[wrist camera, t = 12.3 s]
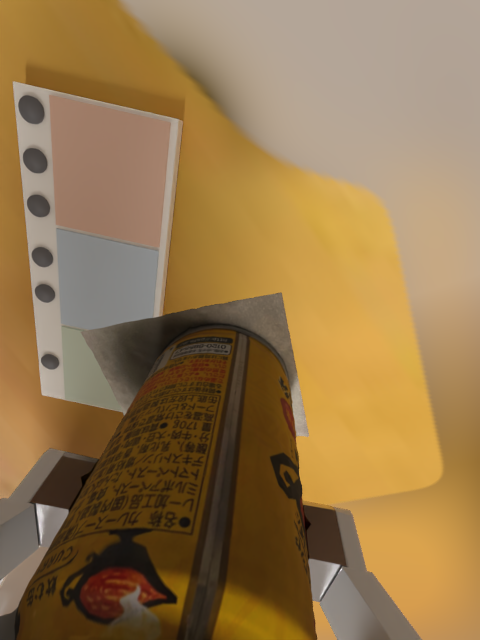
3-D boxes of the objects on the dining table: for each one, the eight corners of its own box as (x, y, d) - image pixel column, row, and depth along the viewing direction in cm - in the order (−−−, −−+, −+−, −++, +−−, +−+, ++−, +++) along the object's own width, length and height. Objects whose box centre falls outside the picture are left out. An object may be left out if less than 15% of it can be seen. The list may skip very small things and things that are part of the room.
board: (152, 409, 34) (147, 419, 33) (49, 387, 34) (40, 396, 33) (183, 121, 22) (177, 118, 21) (25, 85, 22) (9, 80, 21)
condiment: (308, 432, 15) (407, 1068, 5) (143, 452, 17) (-84, 974, 6) (281, 289, 12) (376, 1107, 2) (84, 327, 14) (-575, 904, 3)
